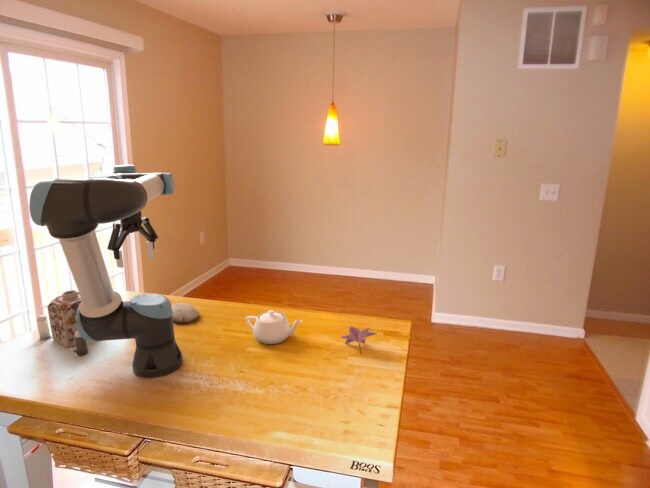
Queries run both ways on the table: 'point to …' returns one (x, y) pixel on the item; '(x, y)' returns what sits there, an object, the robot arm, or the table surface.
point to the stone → (184, 313)
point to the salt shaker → (43, 326)
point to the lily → (357, 335)
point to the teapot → (271, 327)
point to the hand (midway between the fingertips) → (136, 262)
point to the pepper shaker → (80, 345)
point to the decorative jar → (64, 317)
